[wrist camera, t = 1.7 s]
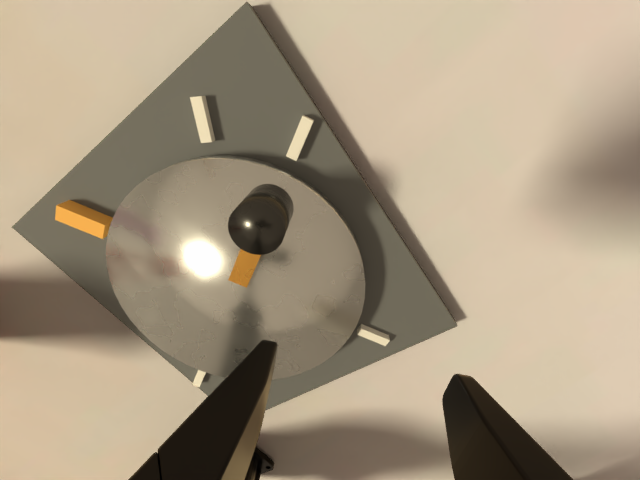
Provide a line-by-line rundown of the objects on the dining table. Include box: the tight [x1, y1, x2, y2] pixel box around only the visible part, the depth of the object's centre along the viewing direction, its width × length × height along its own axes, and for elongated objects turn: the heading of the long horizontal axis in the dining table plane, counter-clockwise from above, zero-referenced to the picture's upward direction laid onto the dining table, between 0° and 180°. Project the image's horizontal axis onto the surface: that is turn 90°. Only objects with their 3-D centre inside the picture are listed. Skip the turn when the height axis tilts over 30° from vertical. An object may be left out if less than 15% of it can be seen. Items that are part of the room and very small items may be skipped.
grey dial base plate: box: [12, 2, 457, 410], centre depth 21 cm, size 22×20×2 cm
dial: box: [106, 155, 365, 380], centre depth 19 cm, size 16×16×4 cm
